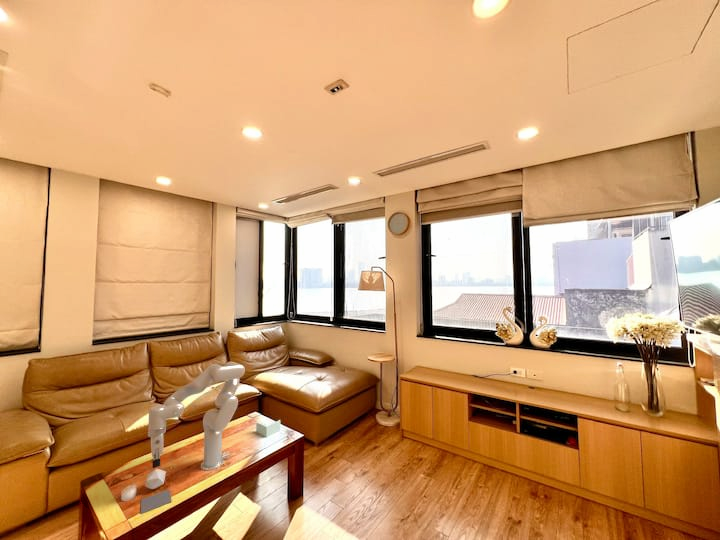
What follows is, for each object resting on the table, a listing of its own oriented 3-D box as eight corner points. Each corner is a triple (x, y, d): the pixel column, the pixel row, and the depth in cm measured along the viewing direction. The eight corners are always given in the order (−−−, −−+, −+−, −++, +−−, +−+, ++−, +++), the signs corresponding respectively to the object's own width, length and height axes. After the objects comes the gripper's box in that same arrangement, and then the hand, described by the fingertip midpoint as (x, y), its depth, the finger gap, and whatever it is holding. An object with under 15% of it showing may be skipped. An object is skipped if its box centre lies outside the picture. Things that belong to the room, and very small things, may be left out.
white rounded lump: (136, 491, 148) (136, 483, 148) (136, 498, 143) (136, 489, 143) (121, 496, 144) (121, 488, 145) (120, 503, 140) (120, 495, 140)
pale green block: (280, 430, 208) (280, 420, 208) (266, 437, 198) (266, 427, 199) (270, 425, 215) (270, 415, 215) (256, 432, 205) (256, 422, 206)
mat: (169, 489, 149) (169, 488, 149) (171, 502, 140) (171, 501, 140) (141, 500, 142) (141, 499, 142) (140, 514, 133) (140, 513, 133)
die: (162, 480, 156) (162, 461, 156) (167, 487, 150) (168, 468, 151) (143, 489, 149) (143, 469, 150) (148, 497, 144) (148, 477, 144)
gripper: (166, 434, 146) (165, 470, 145) (164, 422, 157) (164, 456, 157) (148, 439, 141) (147, 477, 140) (148, 427, 153) (147, 462, 152)
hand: (156, 466), depth 148 cm, fingers closed
